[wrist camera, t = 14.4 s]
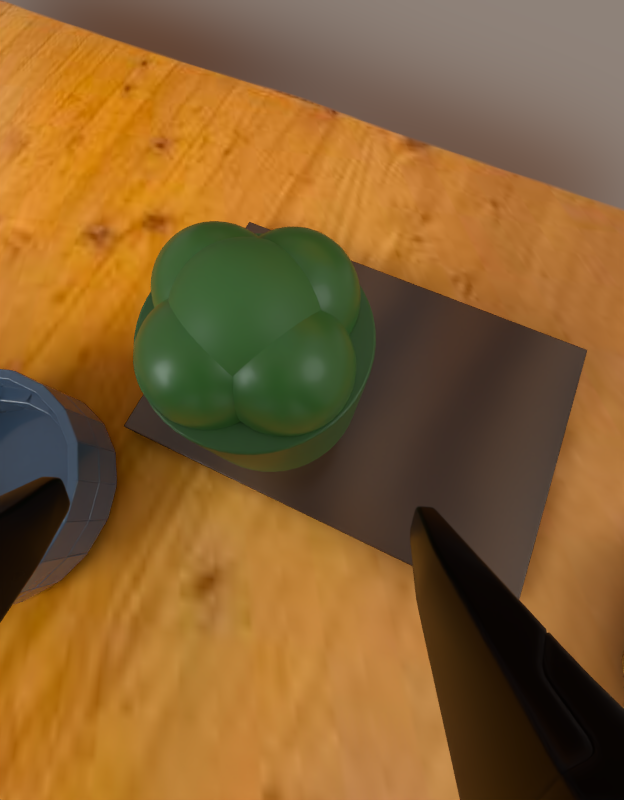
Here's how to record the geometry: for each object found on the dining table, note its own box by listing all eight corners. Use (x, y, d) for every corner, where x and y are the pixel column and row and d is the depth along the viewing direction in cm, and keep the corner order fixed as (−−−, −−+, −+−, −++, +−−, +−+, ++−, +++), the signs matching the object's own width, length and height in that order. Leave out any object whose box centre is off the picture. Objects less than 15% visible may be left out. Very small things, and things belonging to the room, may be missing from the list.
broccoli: (370, 428, 20) (466, 291, 7) (275, 509, 19) (191, 514, 6) (294, 343, 21) (263, 106, 9) (201, 414, 20) (11, 258, 8)
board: (573, 358, 22) (587, 349, 21) (503, 609, 18) (515, 616, 17) (252, 234, 25) (249, 221, 24) (133, 430, 21) (123, 426, 20)
